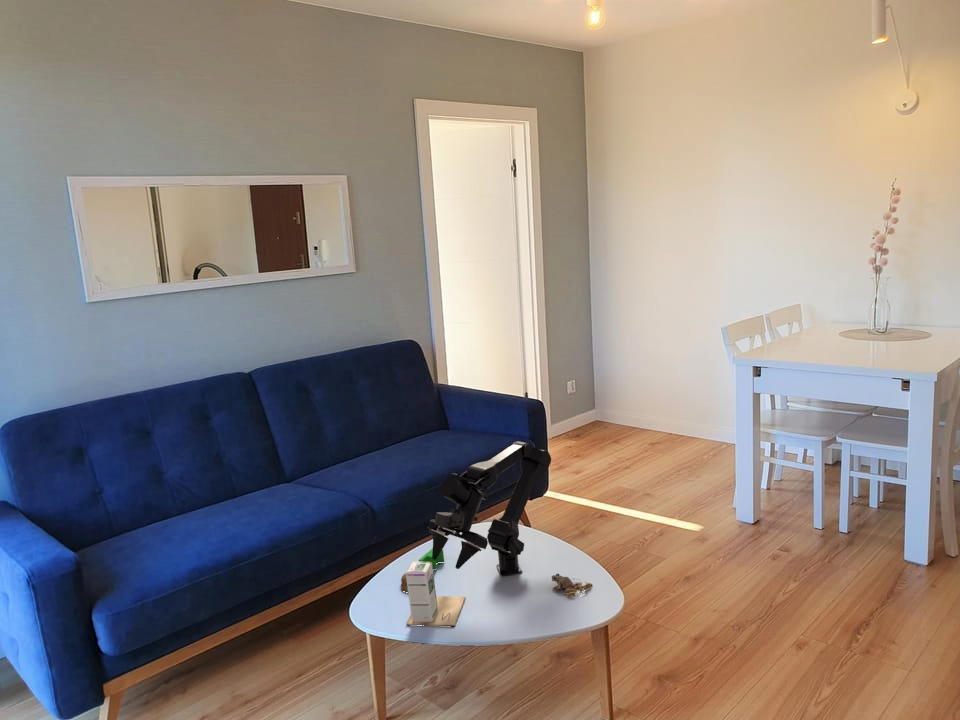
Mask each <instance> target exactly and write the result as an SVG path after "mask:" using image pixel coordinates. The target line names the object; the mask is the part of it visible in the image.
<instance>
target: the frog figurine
mask: <svg viewBox="0 0 960 720" xmlns="http://www.w3.org/2000/svg"><path fill="white" fill-rule="evenodd" d="M571 579H573V580H575V579H576V580H578V579H579V578H572V577H571V578H569V576H562V575H560V573H556V574H553V575H552V576H551V581H552V582H555V583H557V585H556V586H554V587H553V588H552V589H551V591H552V592H554V593H558V592H559V591H560V588H562V589H563V591H564V592H565V593H563V595H566V596H565V597H566V598H572V599H577V597H578V596H580V597H581V598H583V597H582V596H584V597H585V595H586V594H584V593H583V592H584V590H589V589H590V590H591V589H592V588H593V585H594V584H593V583H592V582H588V581H587V580H586V581H585V580H584V581H585V582H583V581H582V582H579V581H581V579H579V581H578V582H573V581H572V580H571ZM584 583H585V584H584ZM583 584H584V585H583ZM590 590H589V591H590ZM579 591H580V592H579ZM582 591H583V592H582ZM577 592H578V593H579V594H578V595H577ZM581 593H582V594H584V595H582V594H581ZM586 593H587V592H586ZM580 594H581V595H582V596H581V595H580ZM588 594H589V593H587V595H588ZM587 595H586V596H587ZM576 596H577V597H576ZM580 597H579V598H580Z"/></svg>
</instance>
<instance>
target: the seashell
mask: <svg viewBox="0 0 960 720" xmlns="http://www.w3.org/2000/svg"><path fill="white" fill-rule="evenodd" d="M400 582H401V586H400V591H401V590H402V591H405V592H408V587H407V579H406V572H405V573H404V574H403V575H401V578H400ZM402 591H401V592H402Z"/></svg>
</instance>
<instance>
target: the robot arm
mask: <svg viewBox="0 0 960 720" xmlns="http://www.w3.org/2000/svg"><path fill="white" fill-rule="evenodd" d="M519 461H520V464H519V465H520V471H521V473H520V476H519V478H518V480H517V483H516V485H515V488H514V489H513V490H512V491H513V492H512V493H511V496H510V499H509V500H508V503H507V506H506V507H505V510H504V512H503V515H502V516H501V517H500V518H499V519H496V518H494V519H493V520H492V521H491V524H490V526H489V528H488V530H487V532H488V533H487V537H485V536H483V535H481V534H479V533H477V532H474V531H471V528H472V526H473V523H474V522H478V519H479V518H478V517H477V513H478V510H479V508H480V506H481V503H482V500H484V501H488V500H489V498H488V495H487V493H486V490H487V489H489V488H491V487H492V486H493V485H494V484H495V483H496V482H497V481H498V479H499V476H500V474H501V473H503V472H504V471H506V470H508V469H509V468H510V467H511V466H513V465H515V464H516V463H517V462H519ZM551 462H552V457H551V454H550V452H549V451H548V450H547V449H539V448H537V447H534V446H532V445H531V444H529V443H527V442H524V441H520V440H518V441H514V442H512V444H511V445H509V446H508V447H507V448H505V449H504V450H502V451H501V452H499V453H498V454H497V455H495V456H492V458H491V459H489V460H485V461H480V462H477V463H474V464H472V465H470V466H468V468H467V469H466V471H464V472H463V473H462V474H461V475H459V474H457V473H453V472H452V473H451V474H450V476H449V477H447V478H445V479H444V480H443V481H442V482H441V484H440V488H439V492H440V495H441V496H442V497H444V498H446V499H448V500H449V501H451V502H453V503H455V504H456V506H455V507H452V508H451V510H450V512H446V511H445V512H440V511H438V512H435V513H436V515H435V519H434V518H432V519H430V520H428V524H427V525H426V528H427V529H428V532H429V533H430V534H431V536H432V548H433V552H432V559H433V560H436V559H437V557H438V556H439V554H440V552H441V551H442V550H444V548H445V546H446V544H447V543H448V541H449V537H448V536H452V537H456V538H459V539H463V540H464V541H463V540H461V541H460V542H461V545H460V546H461V549H460V553H459V555H458V558H457V561H456V562H455V563H456V564H455V566H454V567H455V569H457V570H459V569H461V568H462V567H463V566H464V564H466V563H467V562H468V561H469V560H470V559H471V558H472V557H473V556H475V555H476V554H477V553H478V552H481V551H482V549H483V550H486V549H487V546H488V545H489V546H490V548H491V550H492V551H497V554H498V563H497V564H496V568H497V571H498V572H499V575H500V576H501V577H504V576H509V575H516V574H521V573H523V569H522V567H521V566H520V564H519V555H522V552H524V549H525V543H524V542H523V541H521V540H520V539H519V537H520V529H519V522H520V520H521V517H522V515H523V513H524V511H525V508H526V505H527V503H528V501H529V499H530V496H531V494H532V491H533V489H534V487H535V485H536V482H537V480H539V479H540V478H541V477H542V476H543V475H545V474H546V473H547V470H548V469H549V467H550V465H551ZM484 489H485V490H484Z"/></svg>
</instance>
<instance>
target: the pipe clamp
mask: <svg viewBox="0 0 960 720" xmlns="http://www.w3.org/2000/svg"><path fill="white" fill-rule="evenodd" d="M432 552H433V547H432V548H431V549H429V550H428V551H427V552H426V553H425V554H424V555H423V556H422V557H420V558H419V559H418V562H419V561H425V562H432V568H433V569H436V568H437V569H438V567H437V565H438V564H437V565H436V563H438V562H444V563H445V556H444V555H445V554H444V549H442V551H441V552H440V554H439V556H438V557H437V559H436V560H433V559H432Z"/></svg>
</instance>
